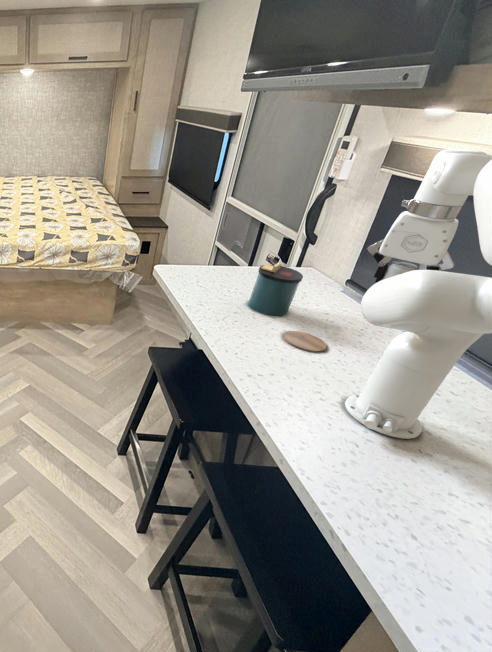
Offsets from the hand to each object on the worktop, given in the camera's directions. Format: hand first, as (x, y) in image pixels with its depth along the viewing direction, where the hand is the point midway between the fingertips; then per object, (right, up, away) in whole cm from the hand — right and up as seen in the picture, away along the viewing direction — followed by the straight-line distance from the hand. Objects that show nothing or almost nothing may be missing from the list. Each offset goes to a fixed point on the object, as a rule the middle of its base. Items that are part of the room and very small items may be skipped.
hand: (393, 284), depth 94 cm
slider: (-6, +6, +33) cm, 34 cm away
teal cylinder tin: (-4, -7, +37) cm, 38 cm away
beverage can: (0, -6, +3) cm, 7 cm away
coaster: (-6, -16, +20) cm, 26 cm away
